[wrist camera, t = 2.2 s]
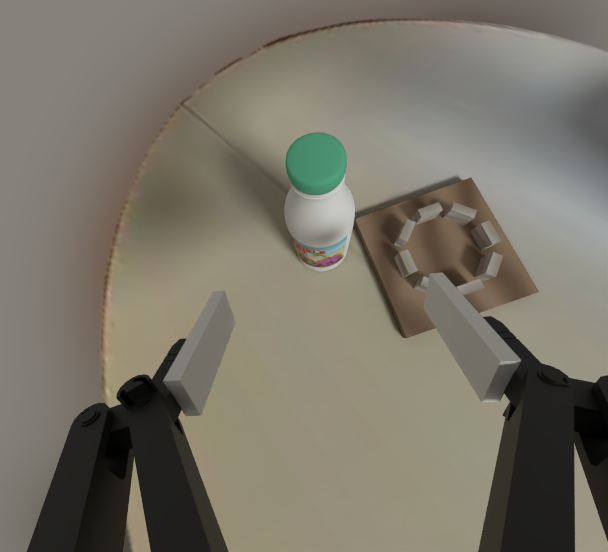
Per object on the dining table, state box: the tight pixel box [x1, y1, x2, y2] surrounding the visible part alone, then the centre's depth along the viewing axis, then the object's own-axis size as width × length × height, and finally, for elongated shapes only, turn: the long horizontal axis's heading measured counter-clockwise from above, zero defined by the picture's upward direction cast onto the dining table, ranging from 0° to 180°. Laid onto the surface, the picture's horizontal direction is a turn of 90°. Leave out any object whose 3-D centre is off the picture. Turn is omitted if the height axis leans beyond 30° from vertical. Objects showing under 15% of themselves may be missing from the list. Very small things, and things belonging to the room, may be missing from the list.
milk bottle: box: [284, 133, 355, 271], centre depth 28 cm, size 8×8×20 cm
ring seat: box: [354, 178, 539, 338], centre depth 33 cm, size 18×18×4 cm
